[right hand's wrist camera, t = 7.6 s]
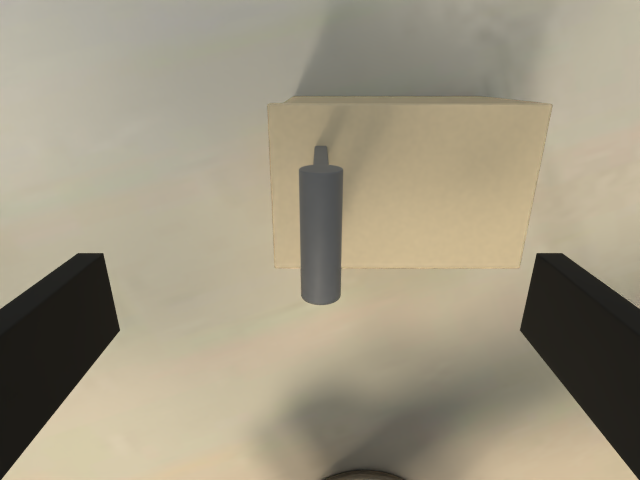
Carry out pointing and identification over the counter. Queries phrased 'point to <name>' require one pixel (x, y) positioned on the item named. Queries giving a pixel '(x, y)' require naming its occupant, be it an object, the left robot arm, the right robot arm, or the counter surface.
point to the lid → (401, 186)
